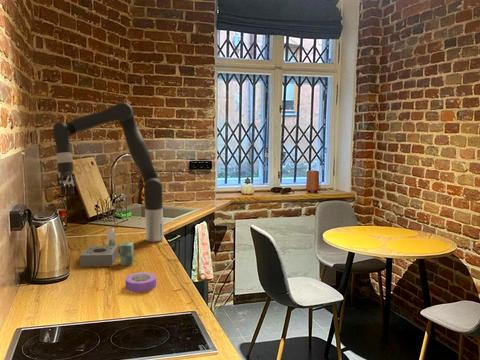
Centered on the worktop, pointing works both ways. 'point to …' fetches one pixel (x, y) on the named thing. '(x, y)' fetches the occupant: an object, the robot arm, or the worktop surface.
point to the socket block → (99, 256)
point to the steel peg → (111, 237)
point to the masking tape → (140, 282)
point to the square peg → (126, 253)
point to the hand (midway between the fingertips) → (67, 194)
